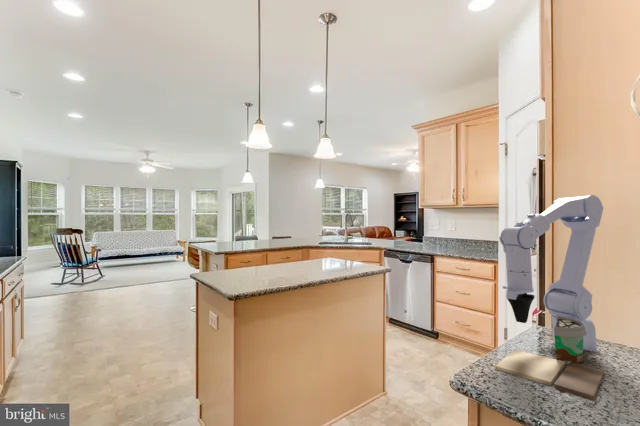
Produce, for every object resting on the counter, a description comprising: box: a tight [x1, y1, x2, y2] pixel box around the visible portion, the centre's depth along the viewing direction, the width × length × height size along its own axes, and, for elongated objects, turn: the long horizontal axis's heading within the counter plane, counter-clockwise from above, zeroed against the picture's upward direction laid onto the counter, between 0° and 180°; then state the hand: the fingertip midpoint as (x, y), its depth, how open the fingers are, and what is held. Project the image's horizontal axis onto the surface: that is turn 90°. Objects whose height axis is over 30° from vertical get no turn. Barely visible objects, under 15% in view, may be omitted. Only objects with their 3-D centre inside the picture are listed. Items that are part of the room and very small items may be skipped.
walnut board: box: [554, 362, 605, 401], centre depth 68 cm, size 15×6×2 cm, turn 131°
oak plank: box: [494, 349, 566, 386], centre depth 75 cm, size 11×14×2 cm
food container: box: [554, 316, 587, 365], centre depth 79 cm, size 12×6×10 cm, turn 139°
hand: (521, 321), depth 83 cm, fingers closed
